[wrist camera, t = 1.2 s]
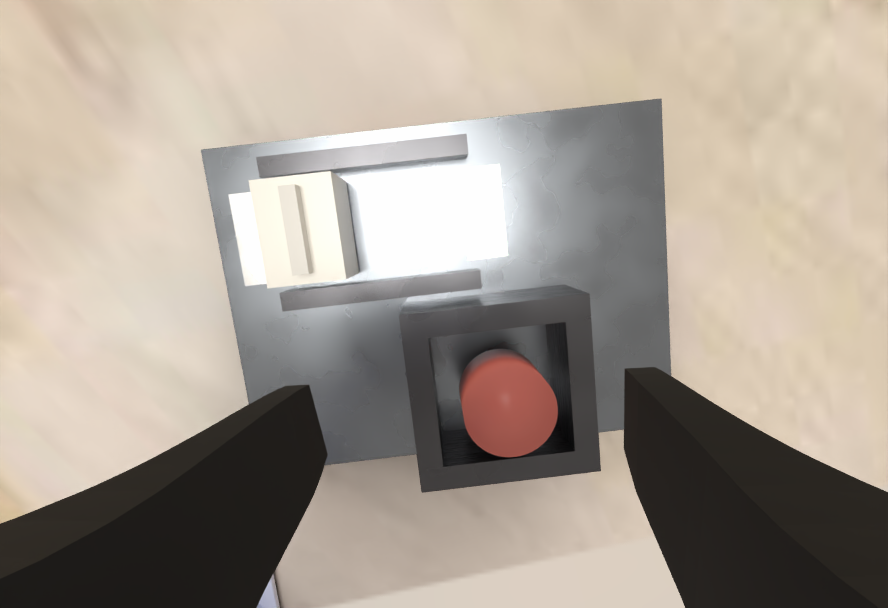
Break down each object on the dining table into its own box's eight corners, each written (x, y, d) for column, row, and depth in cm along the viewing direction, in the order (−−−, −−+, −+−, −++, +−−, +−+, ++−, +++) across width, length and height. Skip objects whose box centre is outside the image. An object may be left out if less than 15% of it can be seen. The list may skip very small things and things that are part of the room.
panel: (657, 411, 23) (715, 456, 18) (272, 457, 23) (231, 515, 18) (645, 108, 21) (708, 70, 16) (217, 156, 20) (152, 131, 16)
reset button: (543, 421, 19) (561, 451, 16) (463, 431, 19) (468, 462, 16) (536, 344, 18) (554, 361, 16) (454, 353, 18) (458, 373, 16)
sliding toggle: (359, 273, 20) (343, 281, 16) (292, 280, 20) (261, 290, 16) (346, 181, 19) (326, 168, 16) (276, 189, 19) (241, 178, 15)
